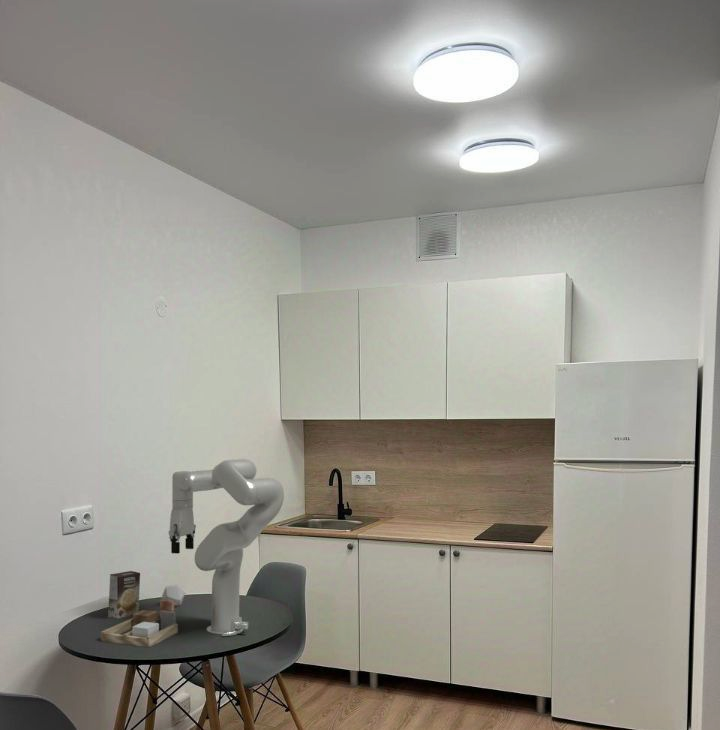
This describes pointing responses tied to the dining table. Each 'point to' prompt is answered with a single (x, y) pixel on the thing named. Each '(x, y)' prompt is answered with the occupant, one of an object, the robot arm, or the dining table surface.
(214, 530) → the robot arm
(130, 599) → the coffee box
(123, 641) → the lane shelf
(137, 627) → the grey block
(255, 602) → the dining table surface
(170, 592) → the die
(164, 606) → the walnut block
